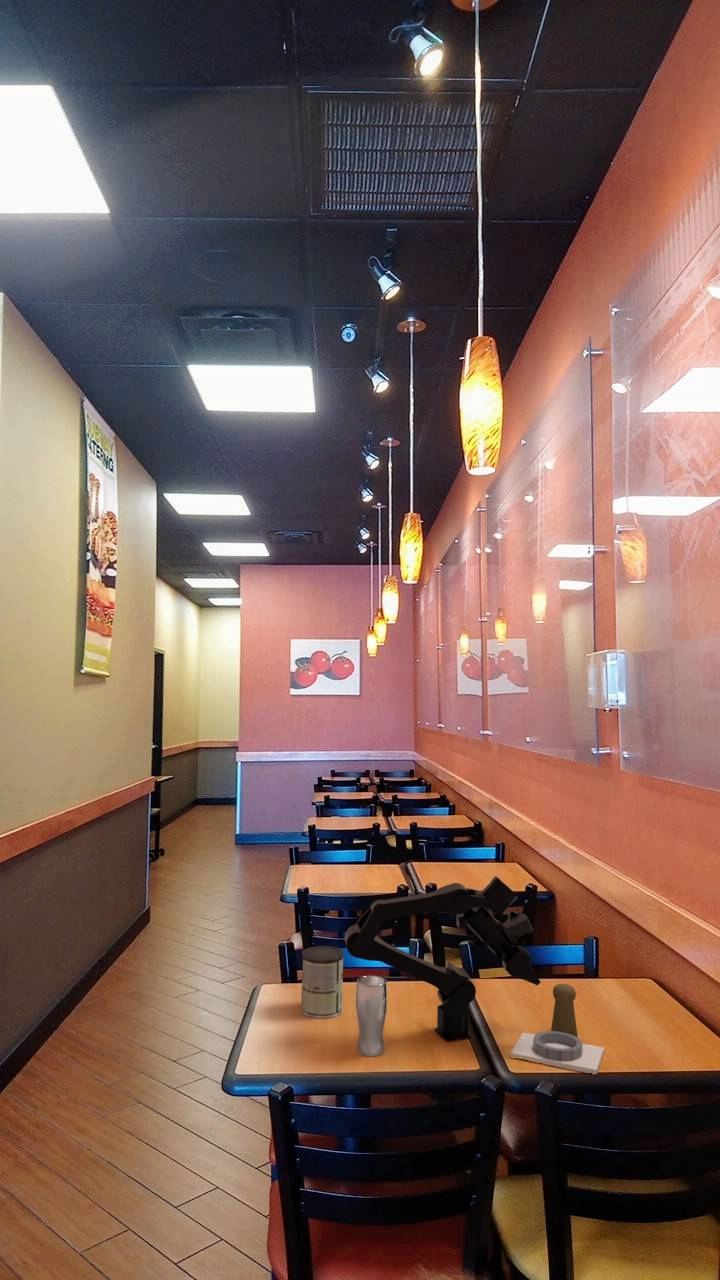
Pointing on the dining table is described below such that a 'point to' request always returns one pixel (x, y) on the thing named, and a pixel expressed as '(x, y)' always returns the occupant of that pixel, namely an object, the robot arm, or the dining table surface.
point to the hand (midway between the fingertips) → (533, 976)
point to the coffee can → (322, 982)
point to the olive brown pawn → (564, 1009)
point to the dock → (559, 1051)
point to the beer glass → (371, 1014)
